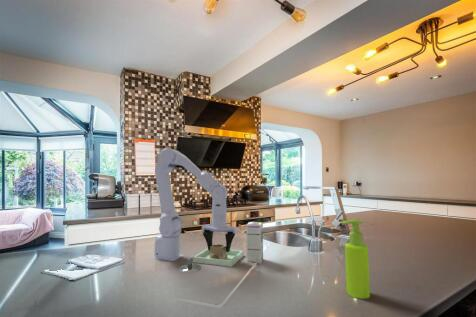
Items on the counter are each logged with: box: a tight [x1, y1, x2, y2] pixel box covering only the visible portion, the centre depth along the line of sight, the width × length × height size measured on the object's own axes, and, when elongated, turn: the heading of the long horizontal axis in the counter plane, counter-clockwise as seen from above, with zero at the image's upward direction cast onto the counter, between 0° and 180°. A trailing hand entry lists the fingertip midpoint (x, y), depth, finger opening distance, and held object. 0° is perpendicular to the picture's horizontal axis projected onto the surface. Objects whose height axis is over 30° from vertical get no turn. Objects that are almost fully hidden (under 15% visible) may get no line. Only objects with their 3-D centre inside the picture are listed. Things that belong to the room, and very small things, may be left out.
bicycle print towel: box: [44, 253, 125, 281], centre depth 91 cm, size 19×20×2 cm
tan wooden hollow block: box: [210, 243, 228, 260], centre depth 98 cm, size 7×5×5 cm
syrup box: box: [245, 221, 264, 264], centre depth 98 cm, size 6×6×14 cm
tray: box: [192, 247, 244, 268], centre depth 98 cm, size 16×14×2 cm
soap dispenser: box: [340, 219, 371, 300], centre depth 70 cm, size 6×7×20 cm
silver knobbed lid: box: [177, 257, 202, 274], centre depth 88 cm, size 8×8×4 cm
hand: (219, 250), depth 99 cm, fingers open, 7 cm apart
